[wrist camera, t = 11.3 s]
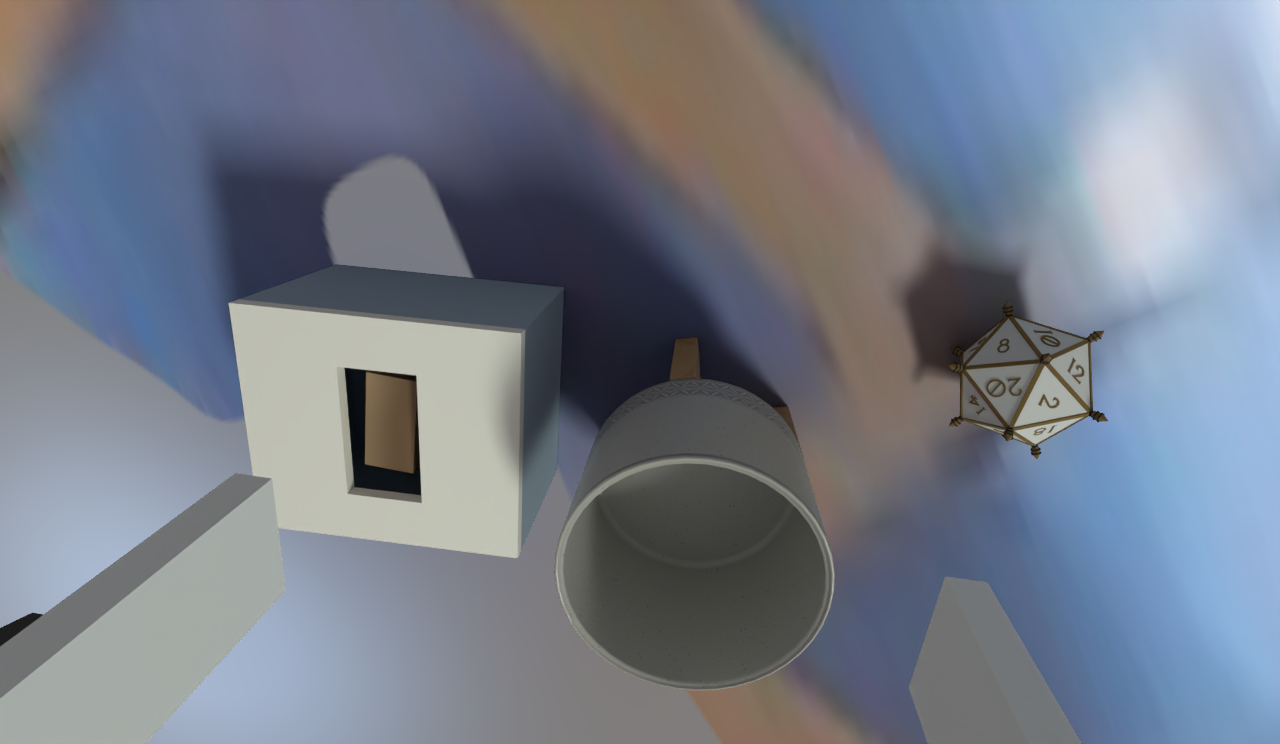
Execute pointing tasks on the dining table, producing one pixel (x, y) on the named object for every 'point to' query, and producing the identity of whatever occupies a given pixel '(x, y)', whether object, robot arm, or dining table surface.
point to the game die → (1026, 380)
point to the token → (392, 421)
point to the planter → (695, 537)
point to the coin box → (446, 394)
